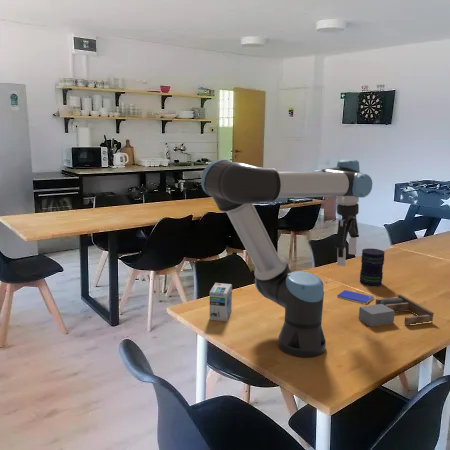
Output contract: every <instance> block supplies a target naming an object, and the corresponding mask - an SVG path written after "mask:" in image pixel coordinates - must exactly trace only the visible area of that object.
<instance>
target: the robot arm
mask: <svg viewBox="0 0 450 450" xmlns="http://www.w3.org/2000/svg"><path fill="white" fill-rule="evenodd" d="M200 184H201V188H202V190H203V192H204V193H205V194H206V195H208V196H209V197H211V198H212V199H213V201H214V203H215V204H216V206H217V208H218V210H219V212H222V213H226V214H227V216H228V219H229V220H230V223H231V224H232V226H233V228H234V230H235V231H236V233H237V236H238V237H239V239H240V242H241V243H242V245H243V247H244V248H245V251H246V252H247V254H248V256H249V258H250V260H251V263H252V264H253V265H254V267H255V269H254V272H253V274H254V277H255V278H254V285H255V288H256V289H257V291H258V293H260V294H261V296H262V297H265V298H266V299H268V300H270V301H271V302H273V303H274V304H277V305H279V306H280V307H282V308H284V322H283V325H282V327H281V328H280V329H281V330H280V332H279V334H278V338H277V347H278V348H279V349H280V350H281V351H282V352H284V353H285V354H288V355H290V356H294V357H299V358H314V357H318V356H320V355H322V354H323V353H325V351H326V347H327V346H326V345H327V342H326V341H327V340H326V338H325V334H324V330H323V325H322V320H323V307H324V296H325V295H324V294H325V288H324V287H325V285H324V283H323V280H322V279H321V277H319V276H317V274H316V275H315V274H314V273H311V272H306V271H303V270H299V271H298V270H297V271H296V270H295V271H292V270H291V268H290V266H289V264H288V262H287V259H285V258H284V257H282V256H279V254H278V252H277V250H276V248H275V246H274V244H273V242H272V240H271V238H270V236H269V234H268V231H267V230H266V228H265V225H264V223H263V221H262V220H261V218H260V216H259V213H258V212H257V209H256V207H255V205H254V204H257V203H259V204H260V203H271V202H272V203H273V202H274V203H275V202H276V201H277V200H278V199H287V198H289V199H290V198H291V199H292V198H316V197H317V198H320V197H321V198H322V197H336V203H337V204H336V214H337V215H339V216H341V219H338V221H337V222H338V223H337V225H338V226H337V231H336V232H337V233H336V238H335V245H334V248H335V249H337V251H336V255H337V260H336V261H337V262H336V263H337V264H336V265H337V266H341V267H345V266H346V254H347V253H346V252H347V251H346V243H347V238H348V255H357V238H360V234H359V227H358V220H357V215H358V214H359V213H360V212H359V207H360V206H359V202H360V201H359V199H360V198H366V197H368V196H369V195H370V194H371V191H372V189H373V179H372V177H371V176H370V175H368V174H367V173H362V172H361V171H360V162H359V161H358V160H357V159H353V158H352V159H350V158H346V159H345V158H344V159H340V160H339V159H338V160H337V163H336V166H335V167H328V168H319V169H317V170H313V171H278V170H277V169H276V168H273V167H261V166H257V165H252V164H248V163H244V162H236V161H230V160H228V159H220V160H219V159H217V160H213V161H211V162H210V163H208V165H206V166H205V167H204V169H203V171H202V173H201V178H200ZM348 235H349V237H348Z"/></svg>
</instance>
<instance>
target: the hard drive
mask: <svg viewBox="0 0 450 450" xmlns="http://www.w3.org/2000/svg"><path fill="white" fill-rule="evenodd" d="M336 297H337V298H339V299H344V300H347V301H352V302H355V303H359V304H363V305H368V302H369V303H370V302H371V301H372V300H374V296H372V295H367V294H363V293H360V292H355V291H350V290H348V289H344V290H343V291H341V292H340V293H338V294H337V296H336Z"/></svg>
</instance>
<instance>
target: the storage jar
mask: <svg viewBox="0 0 450 450" xmlns="http://www.w3.org/2000/svg"><path fill="white" fill-rule="evenodd" d="M361 250H362V251H361V257H360V258H361V259H360V261H361V266H360V267H361V269H360V273H359V284H361V285H363V286H367V287H380V286H382V284H383V283H382V282H383V279H384V278H383V274H384V272H383V270H384V269H383V268H384V267H383V266H384V263H385V251H384V250H382V249H378V248H364V249H361Z"/></svg>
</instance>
